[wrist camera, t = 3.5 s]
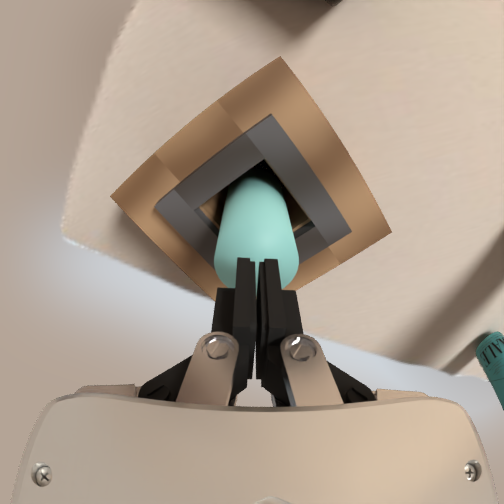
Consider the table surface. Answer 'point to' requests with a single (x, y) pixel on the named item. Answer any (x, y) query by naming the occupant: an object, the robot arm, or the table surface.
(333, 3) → the end cap
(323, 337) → the table surface
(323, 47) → the table surface
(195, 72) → the table surface
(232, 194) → the peg
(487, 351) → the beverage bottle
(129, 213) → the socket block
